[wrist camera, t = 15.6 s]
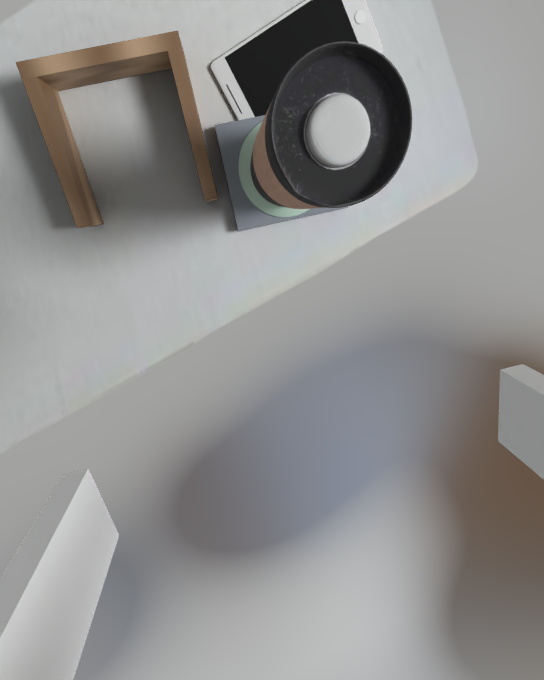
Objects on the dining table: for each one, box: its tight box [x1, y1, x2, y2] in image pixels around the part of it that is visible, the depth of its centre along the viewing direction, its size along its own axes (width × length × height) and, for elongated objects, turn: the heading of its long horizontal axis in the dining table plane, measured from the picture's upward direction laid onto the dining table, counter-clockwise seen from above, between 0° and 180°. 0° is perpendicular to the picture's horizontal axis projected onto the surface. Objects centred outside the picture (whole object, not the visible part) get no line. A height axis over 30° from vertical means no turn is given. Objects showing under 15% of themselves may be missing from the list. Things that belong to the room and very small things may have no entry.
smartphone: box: [211, 0, 383, 120], centre depth 36 cm, size 7×16×1 cm, turn 120°
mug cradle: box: [16, 31, 218, 228], centre depth 35 cm, size 13×13×4 cm
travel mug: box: [250, 41, 412, 209], centre depth 28 cm, size 8×8×20 cm
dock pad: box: [215, 115, 348, 231], centre depth 38 cm, size 12×10×1 cm
